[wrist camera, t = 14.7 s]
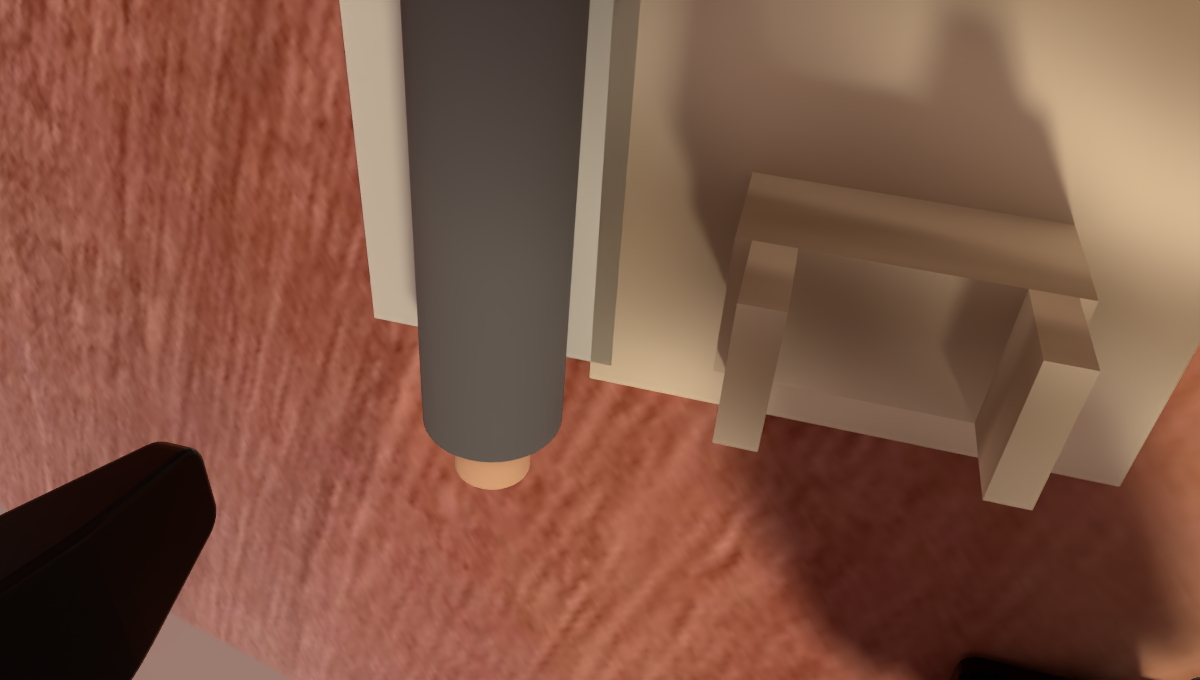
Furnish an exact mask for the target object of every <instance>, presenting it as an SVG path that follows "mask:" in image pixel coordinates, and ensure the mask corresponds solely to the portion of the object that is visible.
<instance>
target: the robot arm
mask: <svg viewBox="0 0 1200 680" xmlns="http://www.w3.org/2000/svg"><path fill="white" fill-rule="evenodd" d="M215 519H216V503H215V500H214V496H213V493H212V489H211V486H210V482H209V479H208V475H207V472H206V468H205V465H204V461H203V459H202V456H201V455H200V454H199V452H198V451H197V450H195V449H193V448H190V447H186V446H182V445H177V444H173V443H168V442H154V443H151V444H149V445H146V446H144V447H142V448H140V449H138V450H136V451H133V452H131V453H129V454H127V455H125V456H123V457H121V458H119V459H117V460H115V461H113V462H110V463H108V464H106V465H104V466H102V467H100V468H98V469H96V470H94V471H92V472H90V473H87V474H85V475H83V476H81V477H79V478H77V479H75V480H73V481H71V482H69V483H67V484H64V485H62V486H60V487H58V488H56V489H54V490H52V491H50V492H48V493H46V494H44V495H41V496H39V497H37V498H35V499H33V500H31V501H29V502H27V503H25V504H23V505H21V506H18V507H16V508H14V509H12V510H10V511H8V512H6V513H4V514H2V515H0V680H132V678H133V677H134V675H135V673H136V672H137V670H138V669H139V667H140V666H141V664H142V662H143V660H144V659H145V657H146V655H147V653H148V652H149V650H150V648H151V646H152V644H153V643H154V640H155V639H156V637H157V635H158V633H159V631H160V629H161V627H162V625H163V623H164V621H165V619H166V618H167V615H168V614H169V612H170V610H171V608H172V606H173V604H174V602H175V601H176V599H177V597H178V595H179V593H180V591H181V589H182V587H183V585H184V583H185V581H186V580H187V578H188V576H189V574H190V572H191V570H192V568H193V566H194V564H195V562H196V560H197V559H198V557H199V555H200V553H201V551H202V549H203V547H204V545H205V543H206V541H207V539H208V538H209V536H210V534H211V531H212V529H213V526H214V523H215ZM950 680H1071V679H1067V678H1063V677H1058V676H1054V675H1050V674H1046V673H1042V672H1038V671H1033V670H1029V669H1025V668H1021V667H1017V666H1013V665H1008V664H1004V663H1000V662H996V661H992V660H987V659H983V658H976V657H973V658H966V659H964V660H962V661H961V662H960V663H959V664H958V665H957V667H956V669H955V671H954V673H953V675H952V677H951V679H950ZM1192 680H1200V677H1196V678H1194V679H1192Z"/></svg>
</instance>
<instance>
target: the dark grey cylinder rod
mask: <svg viewBox="0 0 1200 680" xmlns="http://www.w3.org/2000/svg"><path fill="white" fill-rule="evenodd" d="M400 8H401V26H402V44H403V62H404V81H405V99H406V117H407V136H408V154H409V172H410V190H411V209H412V227H413V245H414V263H415V282H416V300H417V318H418V337H419V355H420V373H421V391H422V410H423V421H424V426H425V428H426V431H427V433H428V434H429V436H430V437H431V438H432V440H433V441H434V442H435V443H436V444H438V445H439V446H440V447H441V448H443V449H444V450H446V451H447V452H449V453H451V454H453V455H455V467H456V470H457V473H458V474H459V476H460V477H461V478H462V479H463V480H464V481H465V482H467V483H468V484H470V485H472V486H475V487H478V488H481V489H490V490H494V489H503V488H507V487H510V486H512V485H514V484H516V483H518V482H519V481H520V480H522V479H523V478H524V477H525V475H526V474H527V472H528V470H529V467H530V455H531V454H533V453H535V452H537V451H538V450H540V449H542V448H543V447H544V446H546V445H547V444H548V443H549V442H550V441H551V440H552V439H553V438H554V437H555V435H556V434H557V432H558V430H559V428H560V425H561V421H562V410H563V395H564V380H565V366H566V351H567V336H568V321H569V306H570V291H571V277H572V262H573V247H574V232H575V217H576V202H577V188H578V173H579V158H580V143H581V128H582V113H583V99H584V84H585V69H586V54H587V39H588V24H589V10H590V0H400Z"/></svg>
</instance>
